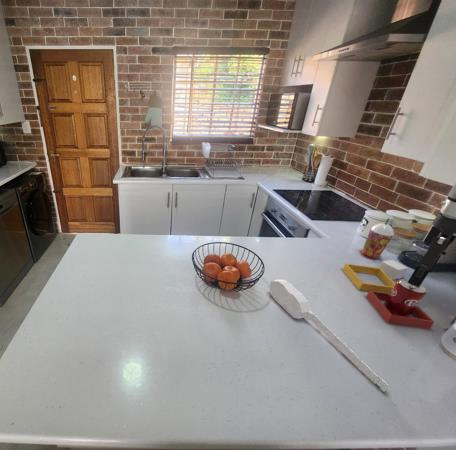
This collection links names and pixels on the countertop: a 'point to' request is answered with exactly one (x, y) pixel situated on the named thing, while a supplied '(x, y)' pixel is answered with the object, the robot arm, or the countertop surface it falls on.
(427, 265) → the robot arm
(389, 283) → the yellow bin
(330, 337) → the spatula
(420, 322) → the red bin
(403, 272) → the white cube
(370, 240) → the smoothie
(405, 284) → the soda can
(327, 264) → the countertop surface
